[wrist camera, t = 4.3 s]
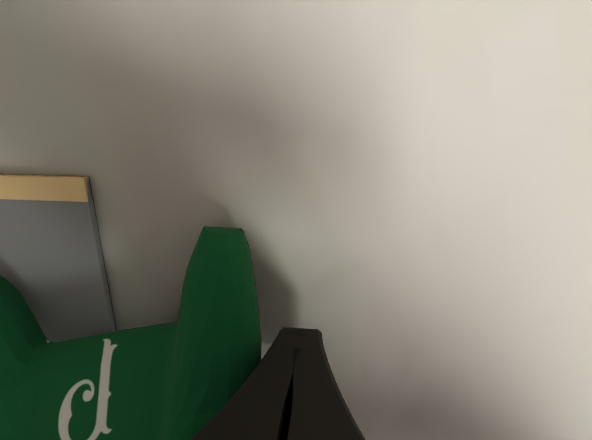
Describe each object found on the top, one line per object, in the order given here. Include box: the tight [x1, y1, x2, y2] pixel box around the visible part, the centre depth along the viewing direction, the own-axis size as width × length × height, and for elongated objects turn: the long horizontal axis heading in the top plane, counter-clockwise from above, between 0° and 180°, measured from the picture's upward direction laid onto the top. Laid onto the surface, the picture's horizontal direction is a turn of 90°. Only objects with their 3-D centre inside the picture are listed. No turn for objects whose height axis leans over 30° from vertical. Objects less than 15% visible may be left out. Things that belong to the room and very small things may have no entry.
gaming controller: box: [0, 226, 261, 440], centre depth 10 cm, size 9×4×6 cm
